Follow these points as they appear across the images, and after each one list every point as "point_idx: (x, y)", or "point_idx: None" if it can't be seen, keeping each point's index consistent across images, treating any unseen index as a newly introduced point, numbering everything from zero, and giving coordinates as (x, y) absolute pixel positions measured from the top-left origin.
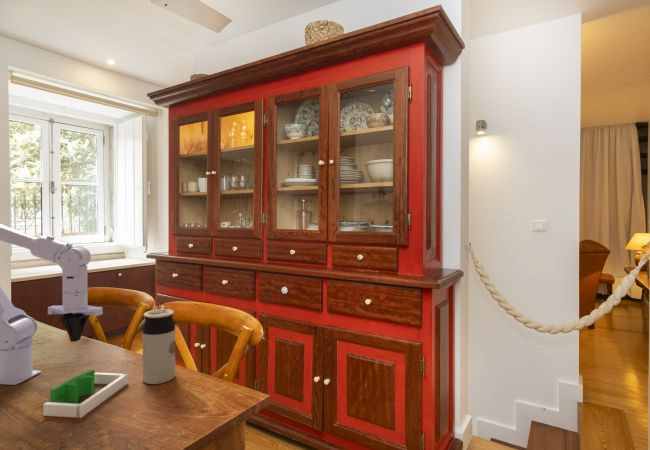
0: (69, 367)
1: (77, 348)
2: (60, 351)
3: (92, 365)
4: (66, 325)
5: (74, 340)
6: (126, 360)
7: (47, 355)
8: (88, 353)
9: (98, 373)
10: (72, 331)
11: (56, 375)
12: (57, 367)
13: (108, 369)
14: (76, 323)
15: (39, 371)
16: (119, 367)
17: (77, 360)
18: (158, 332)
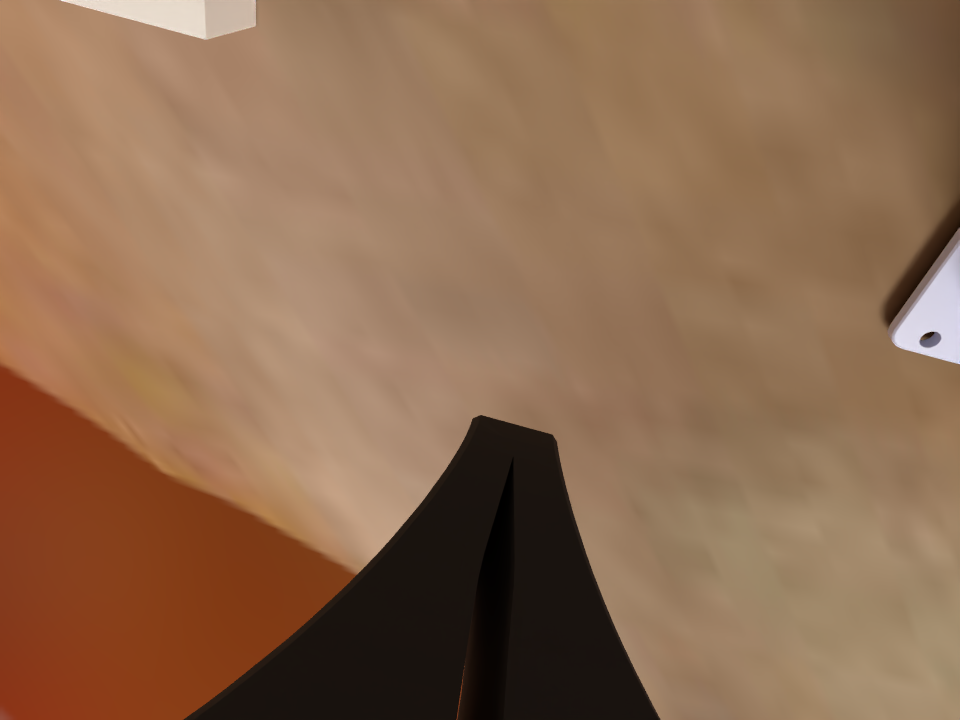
0: (664, 398)
1: (735, 685)
2: (842, 671)
3: (490, 401)
4: (589, 710)
5: (476, 424)
6: (281, 438)
7: (922, 634)
8: (622, 601)
9: (163, 4)
10: (463, 544)
11: (717, 250)
12: (769, 417)
13: (316, 301)
14: (231, 689)
15: (903, 328)
16: (252, 324)
17: (653, 510)
18: None
